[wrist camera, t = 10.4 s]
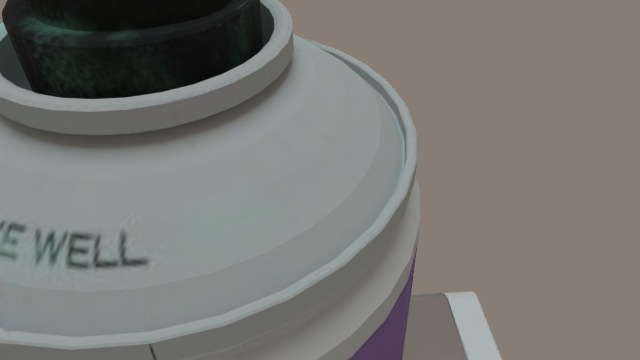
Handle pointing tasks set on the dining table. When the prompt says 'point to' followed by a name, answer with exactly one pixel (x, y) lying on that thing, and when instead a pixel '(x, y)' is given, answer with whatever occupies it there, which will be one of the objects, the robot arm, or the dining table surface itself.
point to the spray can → (198, 187)
